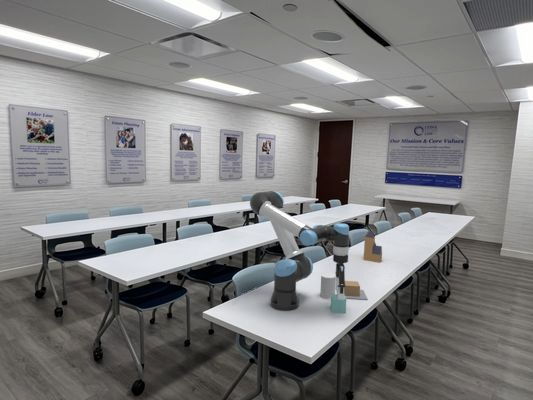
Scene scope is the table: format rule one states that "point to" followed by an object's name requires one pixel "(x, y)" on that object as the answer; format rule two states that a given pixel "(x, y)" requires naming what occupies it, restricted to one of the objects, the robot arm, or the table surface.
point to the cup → (327, 285)
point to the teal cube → (338, 304)
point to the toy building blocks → (372, 249)
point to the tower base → (362, 295)
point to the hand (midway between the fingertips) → (339, 294)
